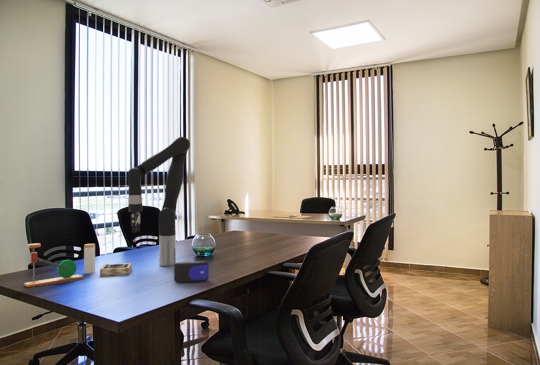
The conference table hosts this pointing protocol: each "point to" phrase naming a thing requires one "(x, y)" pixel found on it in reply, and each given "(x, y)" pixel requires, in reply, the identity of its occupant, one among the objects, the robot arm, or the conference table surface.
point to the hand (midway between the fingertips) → (136, 231)
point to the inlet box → (116, 269)
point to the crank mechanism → (63, 270)
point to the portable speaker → (191, 272)
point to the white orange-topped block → (89, 258)
